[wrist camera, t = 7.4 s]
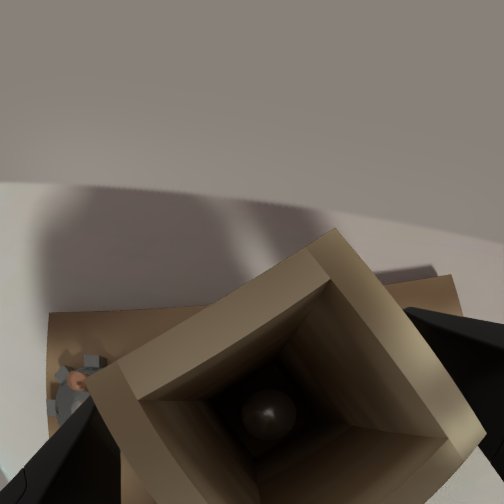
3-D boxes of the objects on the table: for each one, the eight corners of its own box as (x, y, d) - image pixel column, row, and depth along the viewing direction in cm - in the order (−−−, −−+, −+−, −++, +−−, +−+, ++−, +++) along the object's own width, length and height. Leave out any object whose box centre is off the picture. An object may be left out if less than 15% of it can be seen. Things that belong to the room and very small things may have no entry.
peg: (282, 424, 13) (299, 436, 9) (245, 428, 13) (244, 443, 9) (278, 389, 14) (292, 385, 10) (241, 393, 14) (239, 392, 10)
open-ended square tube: (384, 422, 13) (557, 417, 3) (239, 521, 11) (230, 669, 1) (286, 290, 17) (338, 127, 7) (140, 380, 14) (-18, 327, 4)
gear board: (471, 440, 13) (482, 440, 12) (67, 492, 11) (58, 496, 10) (441, 281, 18) (451, 274, 17) (59, 318, 17) (49, 312, 15)
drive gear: (160, 469, 12) (143, 482, 10) (60, 457, 12) (32, 462, 9) (151, 357, 15) (132, 348, 12) (55, 356, 14) (27, 346, 12)
